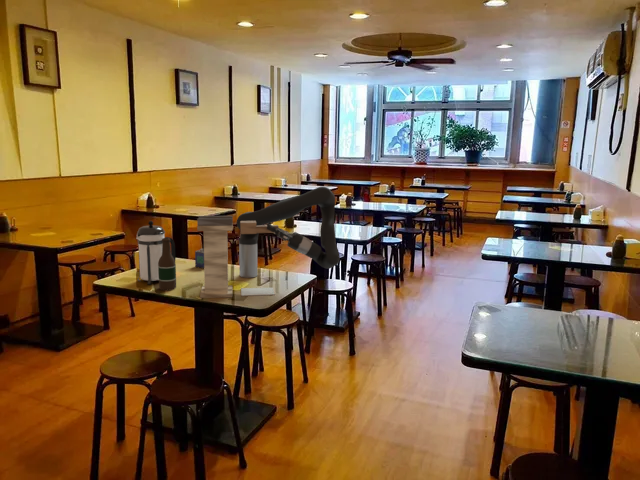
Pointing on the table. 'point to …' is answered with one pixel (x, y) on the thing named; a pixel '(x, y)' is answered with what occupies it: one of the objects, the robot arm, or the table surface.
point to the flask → (199, 258)
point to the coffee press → (151, 251)
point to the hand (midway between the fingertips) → (267, 225)
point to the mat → (256, 291)
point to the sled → (254, 228)
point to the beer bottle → (166, 267)
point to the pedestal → (215, 255)
